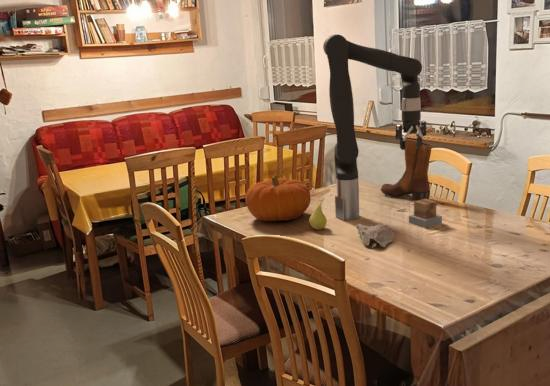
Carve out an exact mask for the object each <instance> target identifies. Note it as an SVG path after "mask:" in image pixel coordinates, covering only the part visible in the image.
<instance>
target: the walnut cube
mask: <svg viewBox="0 0 550 386" xmlns="http://www.w3.org/2000/svg"><path fill="white" fill-rule="evenodd" d="M413 214H414V216H417V217H420V218H422V219H428V218H431V217H435V216H436V214H437V201H435V200H431V199H430V198H429V199H422V200H418V201H415V200H413Z"/></svg>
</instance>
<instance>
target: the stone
mask: <svg viewBox="0 0 550 386" xmlns="http://www.w3.org/2000/svg"><path fill="white" fill-rule="evenodd" d="M356 229H357V233H358V235H359V238H360V239H361V241H362V242H363V243H364V244H365V246H369V245H370V243H371V240H373V241H375V242H376V243H373V244H372V245H371V248H370V249H373V248H376V246H377V244H379V247H382V248H385V247H386V246H387V245H388V244H391V243H393V241H394V238H395V237H394V236H395V233H394V232H393V231H391V230H390V228H388V227H387V226H386V225H385V224H383V223H380V224H375V225H370V226H368V225H363V224H361V223H357V225H356ZM370 239H371V240H370Z"/></svg>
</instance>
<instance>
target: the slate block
mask: <svg viewBox="0 0 550 386" xmlns="http://www.w3.org/2000/svg"><path fill="white" fill-rule="evenodd" d="M408 223H409V224H412V225H414V226H418V227H421V228H424V229H427V228H431V227H435V226H438V225H441V224H443V216H442V215H441V214H437V213H436V216H435V217H431V218H428V219H422V218H420V217H417V216H414V213H413V214H411V215H409V216H408Z"/></svg>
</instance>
